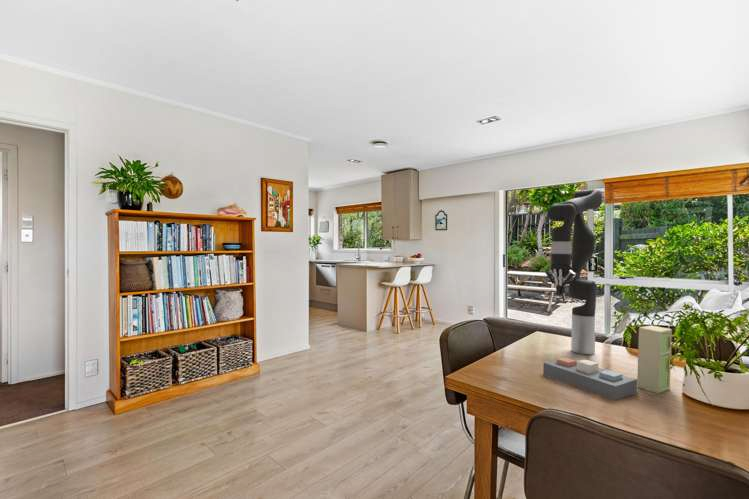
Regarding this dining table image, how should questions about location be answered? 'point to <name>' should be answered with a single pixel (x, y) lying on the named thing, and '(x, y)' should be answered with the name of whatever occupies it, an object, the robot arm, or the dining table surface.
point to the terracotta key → (566, 362)
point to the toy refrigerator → (654, 358)
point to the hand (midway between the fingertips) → (560, 294)
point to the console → (591, 380)
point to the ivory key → (587, 366)
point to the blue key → (610, 375)
